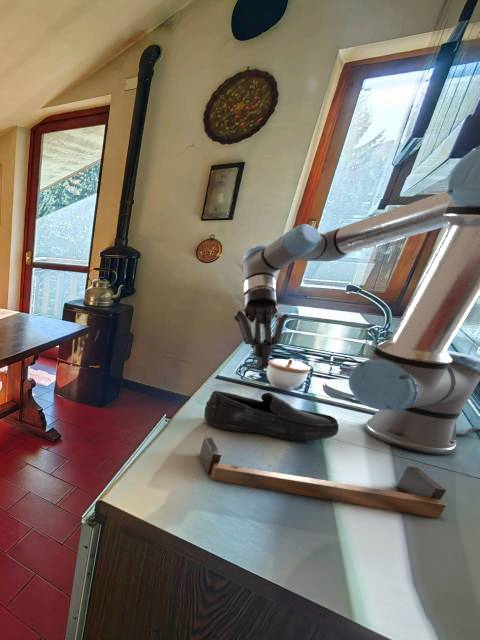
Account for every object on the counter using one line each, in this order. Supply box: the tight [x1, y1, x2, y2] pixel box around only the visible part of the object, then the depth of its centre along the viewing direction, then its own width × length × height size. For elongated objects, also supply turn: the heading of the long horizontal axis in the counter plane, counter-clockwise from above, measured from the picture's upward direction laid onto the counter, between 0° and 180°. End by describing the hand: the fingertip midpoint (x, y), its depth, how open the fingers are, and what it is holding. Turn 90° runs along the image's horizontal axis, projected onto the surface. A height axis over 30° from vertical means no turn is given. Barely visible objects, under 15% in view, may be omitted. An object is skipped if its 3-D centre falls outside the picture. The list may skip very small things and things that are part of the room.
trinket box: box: [266, 358, 311, 391], centre depth 127 cm, size 11×11×9 cm
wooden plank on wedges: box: [199, 436, 447, 519], centre depth 79 cm, size 38×10×5 cm, turn 73°
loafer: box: [203, 390, 340, 442], centre depth 98 cm, size 10×29×10 cm, turn 78°
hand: (262, 366), depth 106 cm, fingers closed
